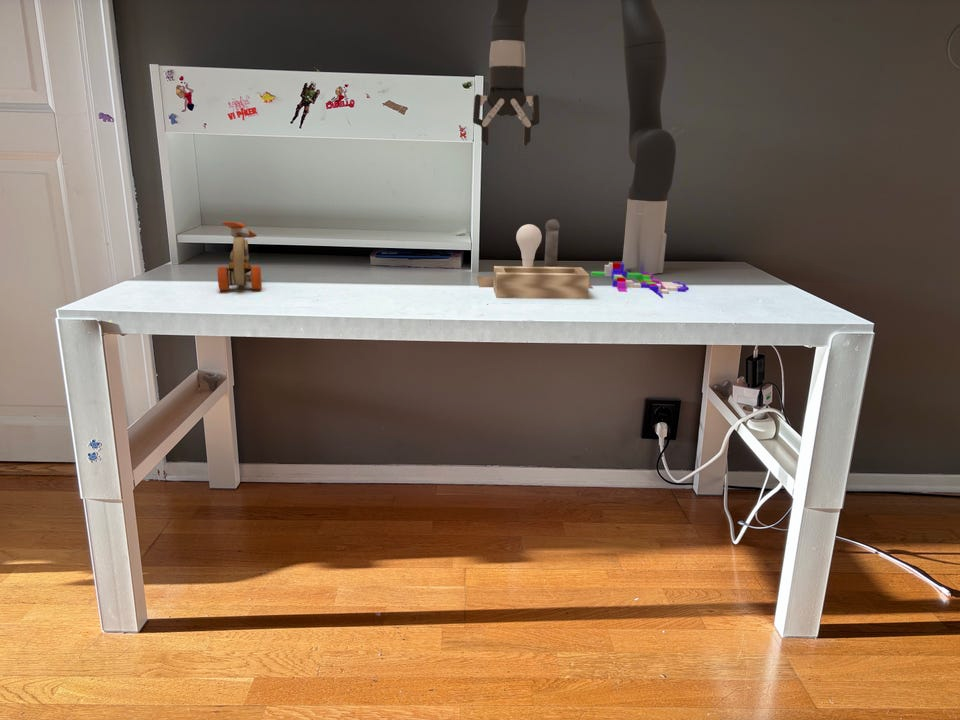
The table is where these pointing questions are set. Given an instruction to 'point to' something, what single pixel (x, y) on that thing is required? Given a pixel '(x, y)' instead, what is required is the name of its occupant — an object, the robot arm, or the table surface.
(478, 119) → the robot arm
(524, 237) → the lightbulb
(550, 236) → the walnut post stand
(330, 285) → the table surface
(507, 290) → the open wooden box
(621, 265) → the building block set
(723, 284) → the table surface
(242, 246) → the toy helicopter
